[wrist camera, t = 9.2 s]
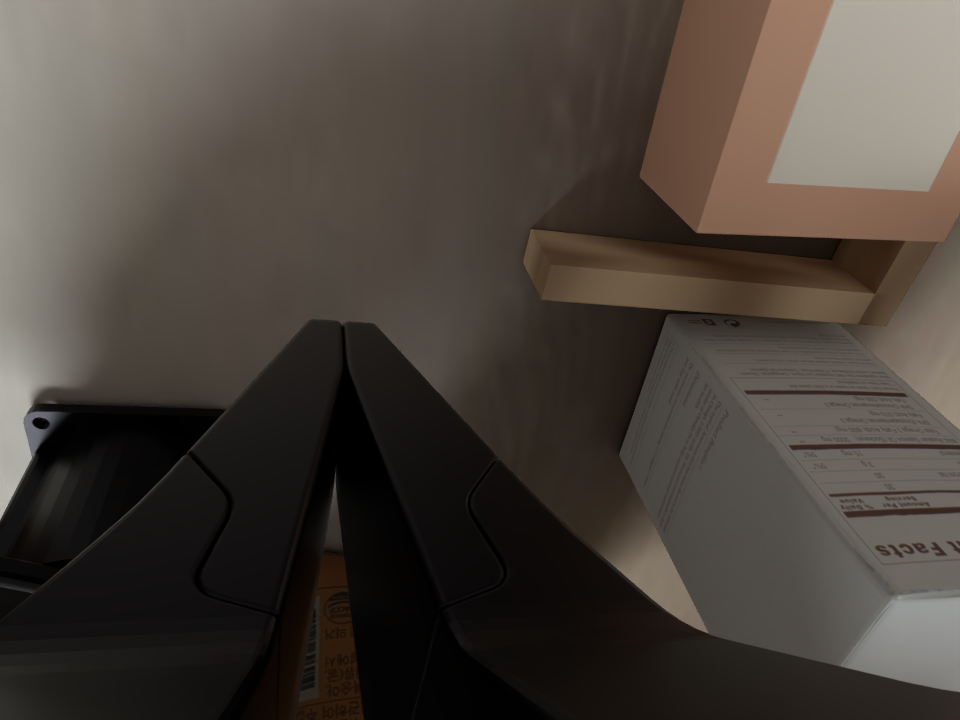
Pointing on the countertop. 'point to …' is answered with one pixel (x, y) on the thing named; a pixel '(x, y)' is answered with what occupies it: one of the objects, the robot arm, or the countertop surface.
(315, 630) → the pancake mix bag
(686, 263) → the u-shaped wooden frame
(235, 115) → the countertop surface
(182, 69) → the countertop surface
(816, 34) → the carton
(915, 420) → the supplement box
